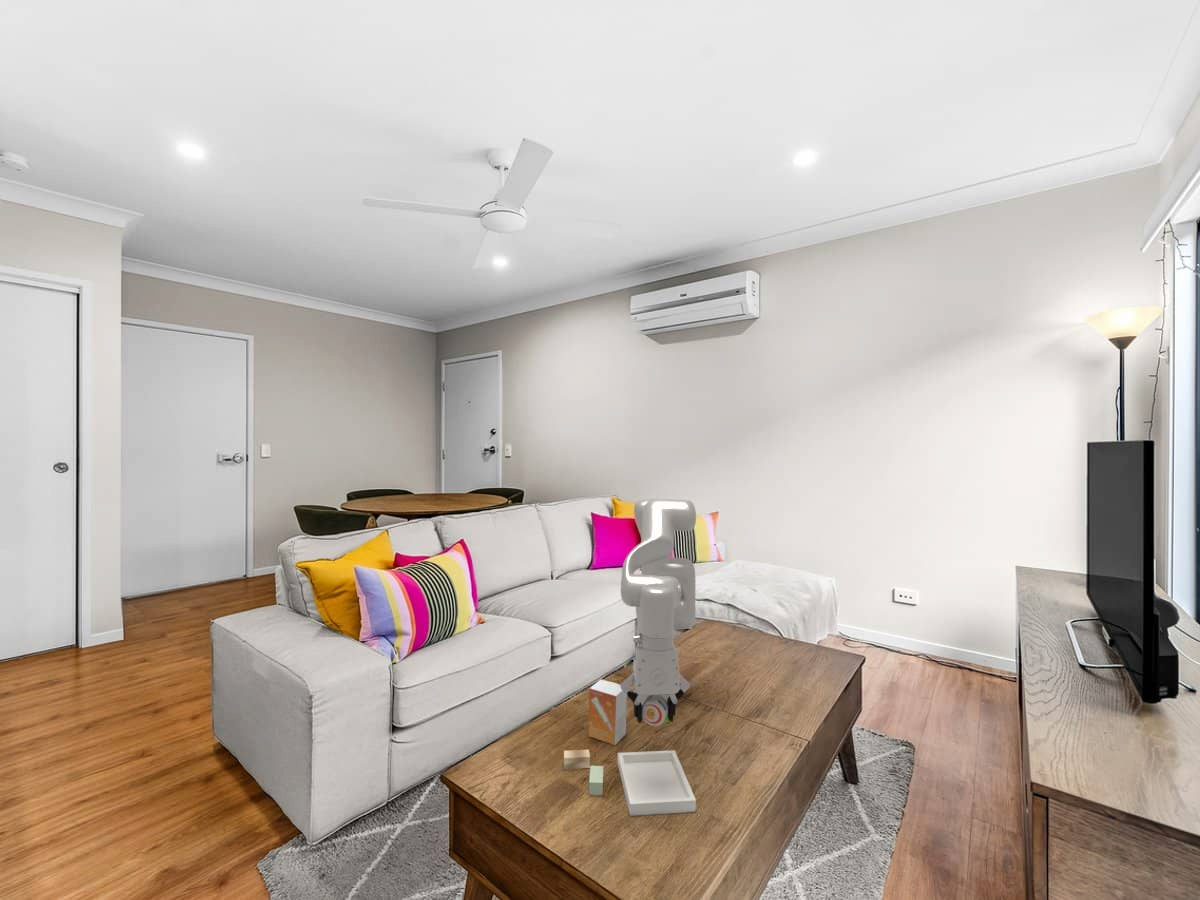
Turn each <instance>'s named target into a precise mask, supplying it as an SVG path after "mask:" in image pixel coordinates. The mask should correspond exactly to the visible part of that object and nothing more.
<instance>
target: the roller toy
mask: <svg viewBox="0 0 1200 900" xmlns="http://www.w3.org/2000/svg"><path fill="white" fill-rule="evenodd" d="M668 712H669V706H668V703H667V701H666V700H665V699H664V698H663V697H662V696H660V695H650V696H648V697H647V698H646V699H645V701H644V703H643V704H642V722H643V723H646V724H647V725H650V726H651V727H652V726H653V727H658V726H661V725H662V724H666V723H668V722H669V717H668V715H667V714H668Z"/></svg>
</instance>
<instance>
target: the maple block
mask: <svg viewBox="0 0 1200 900" xmlns="http://www.w3.org/2000/svg"><path fill="white" fill-rule="evenodd" d="M590 766H591V756H590V750H589V749H572V750H563V770H564V769H573V770H582V769H581V768H590Z"/></svg>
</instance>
